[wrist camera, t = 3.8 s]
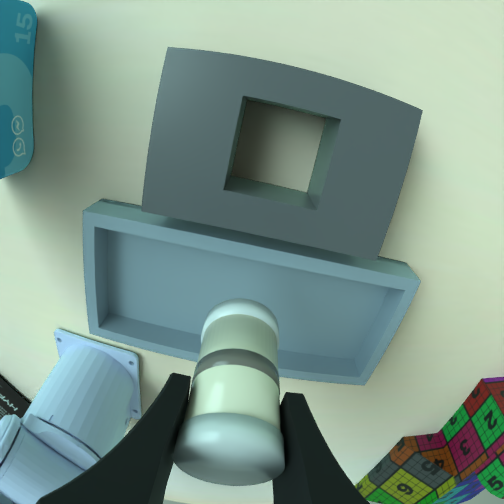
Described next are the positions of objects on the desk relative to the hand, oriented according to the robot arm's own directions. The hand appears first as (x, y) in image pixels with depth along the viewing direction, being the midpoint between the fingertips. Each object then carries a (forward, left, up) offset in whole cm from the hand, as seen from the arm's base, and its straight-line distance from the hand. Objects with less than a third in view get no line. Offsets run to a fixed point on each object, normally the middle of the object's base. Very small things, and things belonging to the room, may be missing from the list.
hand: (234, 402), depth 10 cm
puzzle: (-20, -30, -11) cm, 38 cm away
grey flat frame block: (+8, 0, -10) cm, 13 cm away
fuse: (0, 0, -4) cm, 4 cm away
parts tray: (-2, 0, -10) cm, 10 cm away
